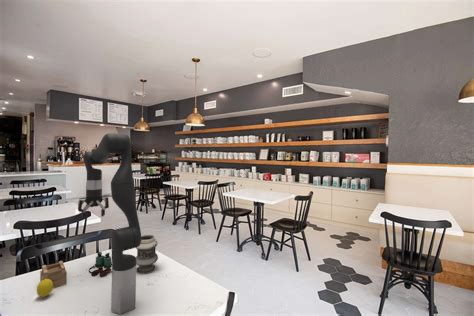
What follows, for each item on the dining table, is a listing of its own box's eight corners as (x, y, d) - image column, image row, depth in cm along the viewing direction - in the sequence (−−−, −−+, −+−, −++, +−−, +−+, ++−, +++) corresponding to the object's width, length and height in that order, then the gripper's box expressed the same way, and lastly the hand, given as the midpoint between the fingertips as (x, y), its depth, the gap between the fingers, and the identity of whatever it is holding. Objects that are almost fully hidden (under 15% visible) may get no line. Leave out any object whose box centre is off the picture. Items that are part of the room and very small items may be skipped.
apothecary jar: (132, 266, 130) (133, 235, 130) (154, 261, 137) (155, 231, 136) (136, 276, 120) (137, 242, 120) (160, 271, 127) (161, 238, 126)
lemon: (33, 301, 98) (34, 283, 98) (40, 293, 103) (41, 276, 103) (49, 299, 100) (49, 281, 99) (55, 292, 105) (55, 274, 105)
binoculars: (85, 260, 116) (98, 249, 126) (86, 279, 117) (99, 268, 127) (101, 261, 115) (114, 251, 125) (102, 281, 116) (115, 269, 126)
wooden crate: (66, 284, 111) (66, 267, 111) (42, 291, 105) (42, 273, 105) (63, 276, 118) (63, 260, 118) (40, 283, 111) (40, 266, 111)
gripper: (80, 190, 119) (79, 221, 119) (110, 187, 129) (110, 216, 129) (77, 188, 124) (76, 218, 124) (106, 186, 134) (106, 214, 134)
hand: (93, 217), depth 127 cm, fingers open, 8 cm apart
